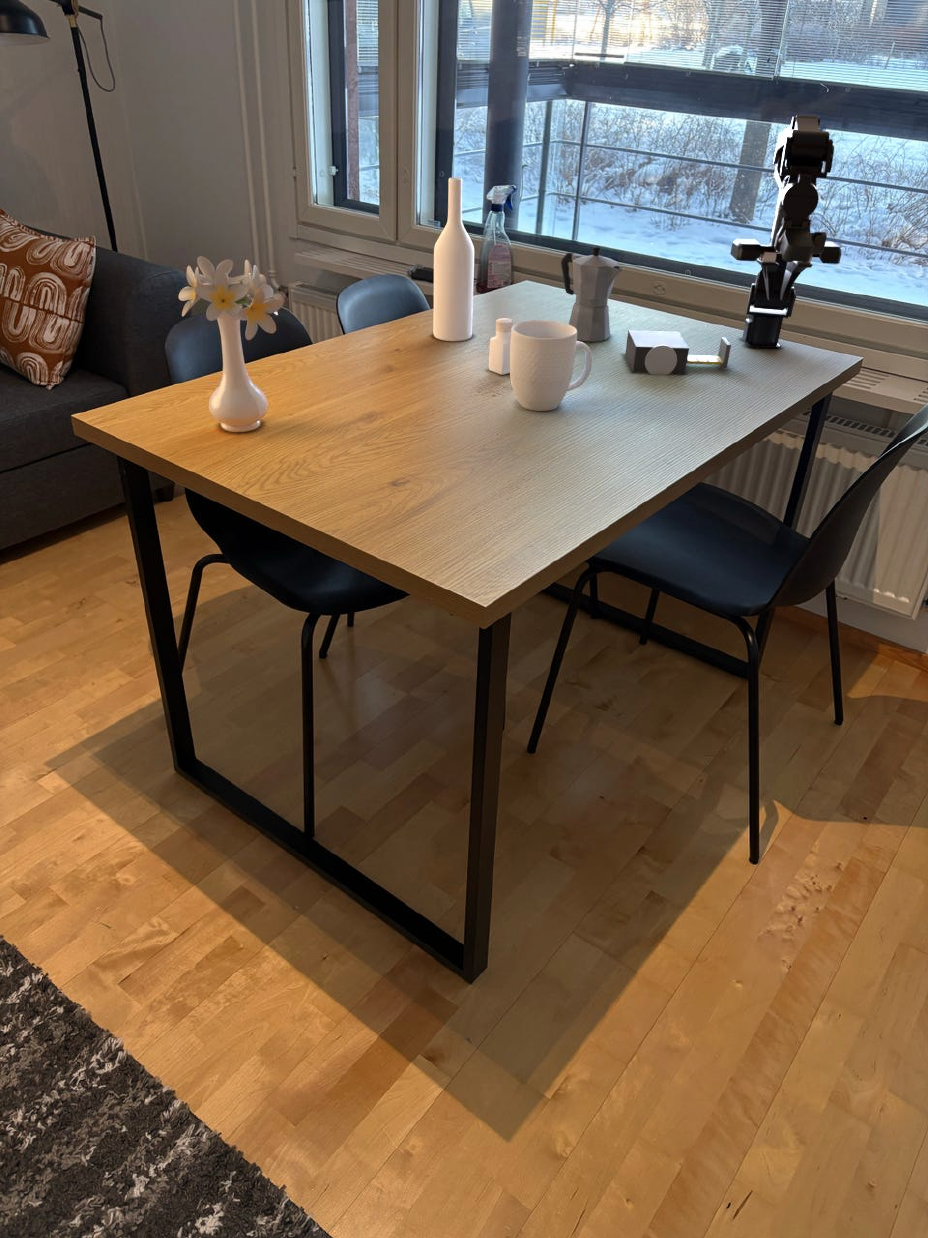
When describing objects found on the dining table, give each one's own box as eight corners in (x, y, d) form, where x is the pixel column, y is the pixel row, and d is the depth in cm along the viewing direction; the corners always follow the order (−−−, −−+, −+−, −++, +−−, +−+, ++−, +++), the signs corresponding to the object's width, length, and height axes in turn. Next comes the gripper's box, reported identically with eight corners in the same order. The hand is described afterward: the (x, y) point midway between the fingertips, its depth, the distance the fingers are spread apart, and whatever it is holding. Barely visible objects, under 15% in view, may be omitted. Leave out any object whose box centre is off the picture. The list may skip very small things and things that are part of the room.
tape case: (674, 358, 182) (679, 328, 179) (684, 377, 173) (690, 345, 170) (624, 357, 182) (628, 327, 179) (632, 375, 173) (636, 344, 170)
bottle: (425, 336, 189) (426, 178, 172) (448, 328, 195) (450, 173, 178) (457, 343, 185) (460, 182, 169) (479, 335, 191) (484, 178, 174)
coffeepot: (626, 338, 192) (637, 248, 182) (598, 347, 186) (608, 254, 176) (570, 322, 201) (578, 235, 191) (542, 330, 195) (548, 241, 185)
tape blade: (721, 360, 179) (725, 337, 177) (726, 368, 175) (731, 344, 173) (672, 358, 179) (675, 335, 177) (676, 367, 175) (680, 343, 173)
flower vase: (255, 452, 137) (237, 281, 123) (175, 423, 146) (149, 260, 132) (315, 427, 146) (304, 265, 132) (236, 401, 155) (218, 246, 141)
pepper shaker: (501, 376, 169) (504, 324, 164) (487, 370, 172) (489, 319, 167) (517, 371, 172) (520, 321, 166) (502, 366, 174) (505, 316, 169)
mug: (573, 389, 164) (580, 315, 157) (601, 410, 156) (610, 333, 149) (497, 397, 160) (501, 322, 153) (522, 419, 151) (527, 340, 144)
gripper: (753, 216, 155) (735, 309, 164) (862, 219, 155) (839, 312, 164) (738, 205, 164) (722, 293, 173) (840, 208, 164) (819, 296, 173)
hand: (775, 299), depth 170 cm, fingers closed
